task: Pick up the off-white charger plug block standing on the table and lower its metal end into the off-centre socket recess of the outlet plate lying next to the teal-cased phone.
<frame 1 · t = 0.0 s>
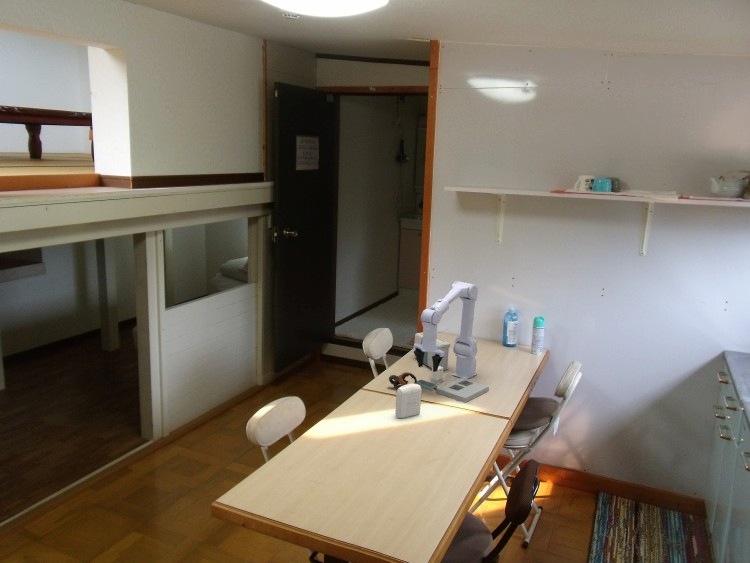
hand: (427, 368, 257), 10 cm above the table, fingers open, 7 cm apart
phone with cable: (425, 386, 266), on the table
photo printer: (407, 415, 236), on the table
brown curved looped piece: (402, 389, 262), on the table
outlet plate: (462, 392, 261), on the table
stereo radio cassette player: (430, 365, 293), on the table
charger plug: (436, 381, 272), on the table
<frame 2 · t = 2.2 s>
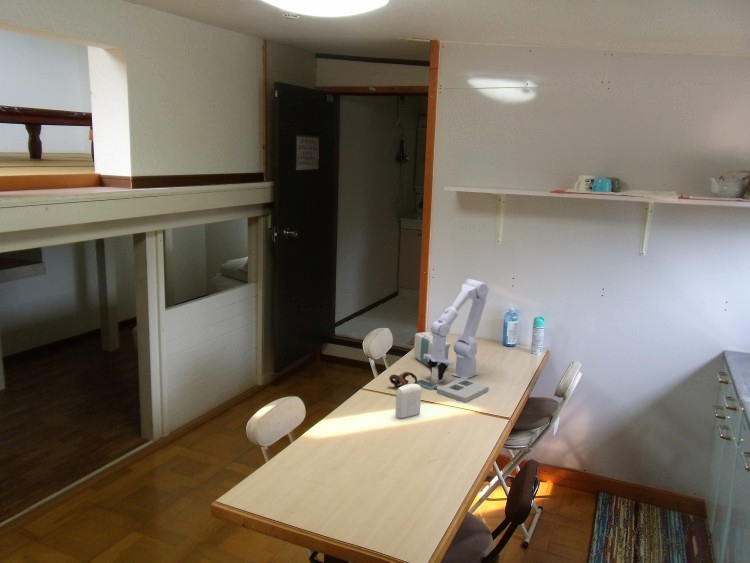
hand: (437, 377, 271), 2 cm above the table, fingers closed on charger plug, 3 cm apart
charger plug: (436, 381, 272), on the table, touching gripper
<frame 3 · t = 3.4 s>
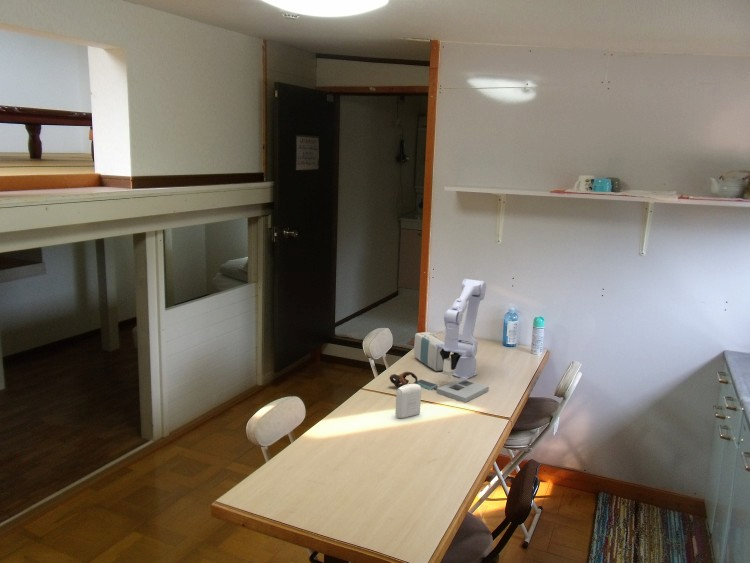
hand: (449, 368, 263), 9 cm above the table, fingers closed on charger plug, 3 cm apart
charger plug: (448, 373, 263), point 6 cm above the table, touching gripper
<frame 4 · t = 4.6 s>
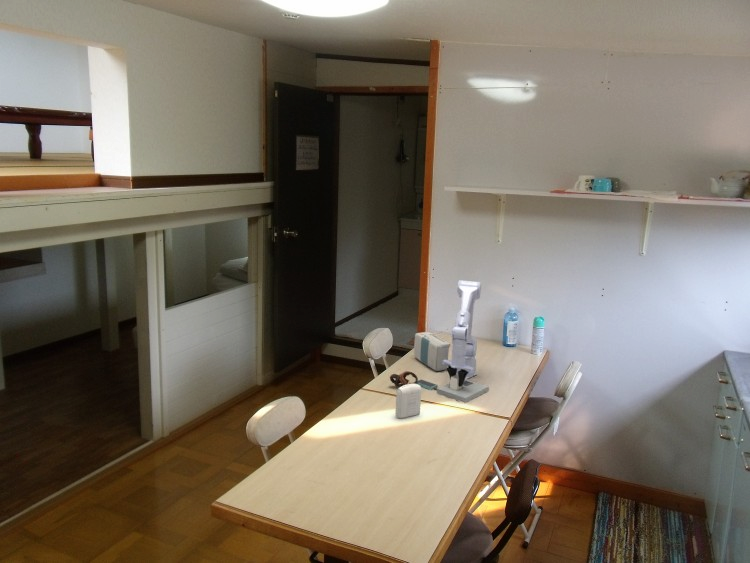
hand: (456, 384, 260), 3 cm above the table, fingers closed on charger plug, 3 cm apart
charger plug: (455, 391, 260), resting on outlet plate, touching gripper
when the fingers open (3 cm above the table, at t = 5.0 s): charger plug stays where it is, resting on outlet plate.
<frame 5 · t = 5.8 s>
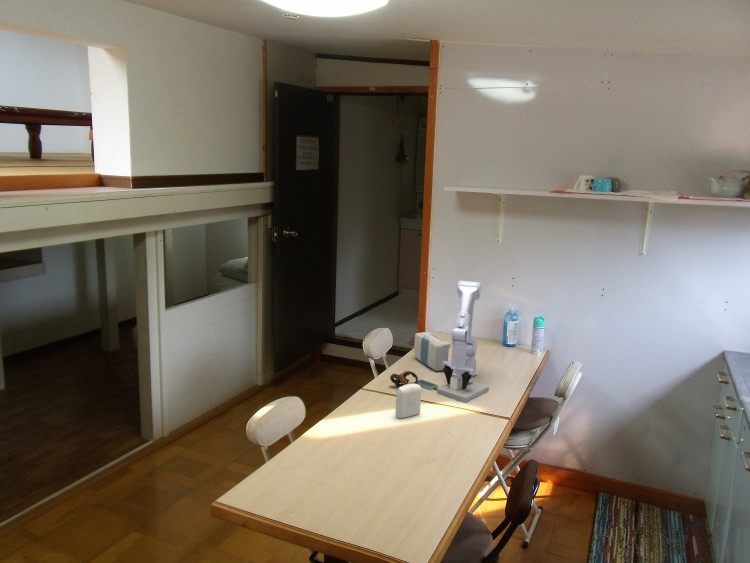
hand: (456, 386, 260), 3 cm above the table, fingers open, 7 cm apart
charger plug: (455, 391, 260), resting on outlet plate
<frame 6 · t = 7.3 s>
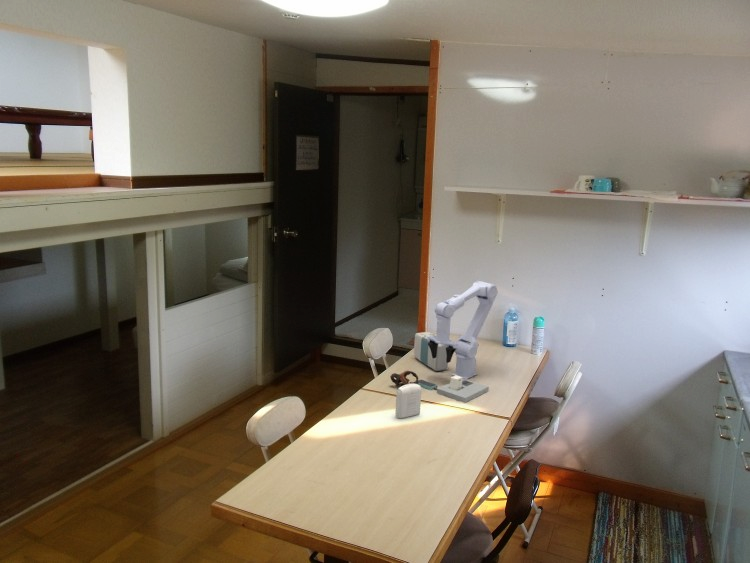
hand: (441, 360, 270), 10 cm above the table, fingers open, 7 cm apart
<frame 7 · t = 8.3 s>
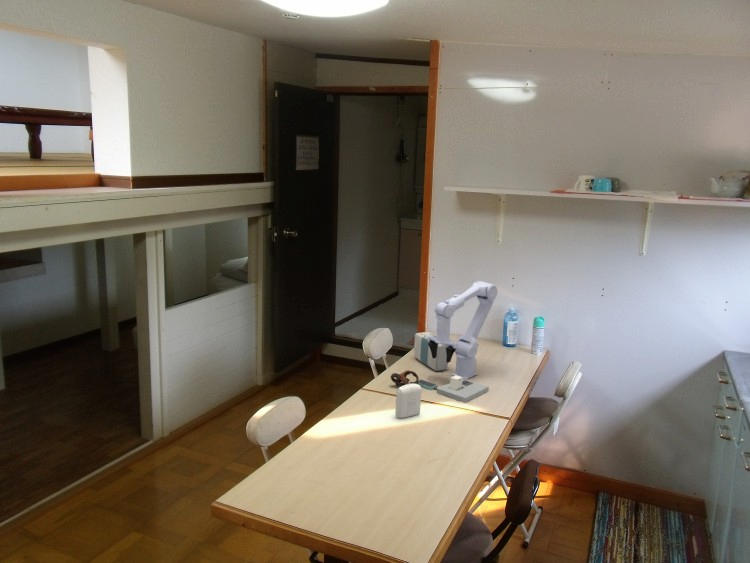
hand: (441, 360, 270), 10 cm above the table, fingers open, 7 cm apart
at the end: charger plug 0.6 cm from the target spot on the outlet plate, point 0.2 cm above the outlet plate's base; charger plug tilted 0°; the gripper is holding nothing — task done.
